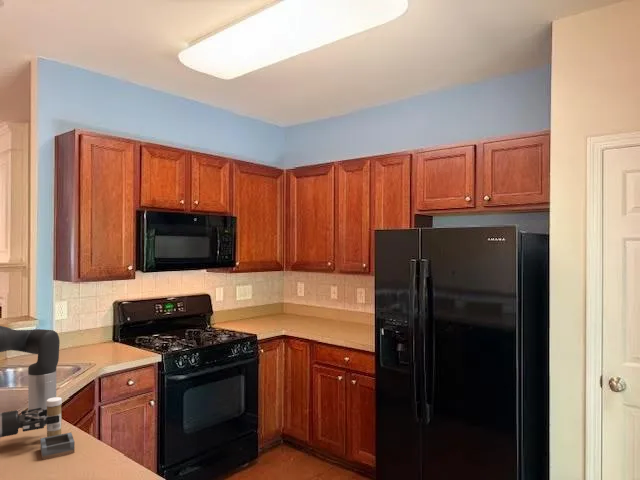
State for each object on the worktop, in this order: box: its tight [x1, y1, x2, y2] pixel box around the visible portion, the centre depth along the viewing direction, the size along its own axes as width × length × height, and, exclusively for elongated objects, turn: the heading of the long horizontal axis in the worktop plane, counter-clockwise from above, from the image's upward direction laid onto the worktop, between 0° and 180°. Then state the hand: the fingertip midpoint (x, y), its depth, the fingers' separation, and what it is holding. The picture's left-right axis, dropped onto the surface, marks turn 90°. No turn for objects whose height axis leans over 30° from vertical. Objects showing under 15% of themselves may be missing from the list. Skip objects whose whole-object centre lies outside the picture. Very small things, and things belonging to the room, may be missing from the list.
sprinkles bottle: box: [46, 396, 63, 437], centre depth 161 cm, size 5×5×14 cm
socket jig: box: [39, 432, 76, 460], centre depth 151 cm, size 9×9×4 cm
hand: (58, 414), depth 161 cm, fingers open, 8 cm apart
